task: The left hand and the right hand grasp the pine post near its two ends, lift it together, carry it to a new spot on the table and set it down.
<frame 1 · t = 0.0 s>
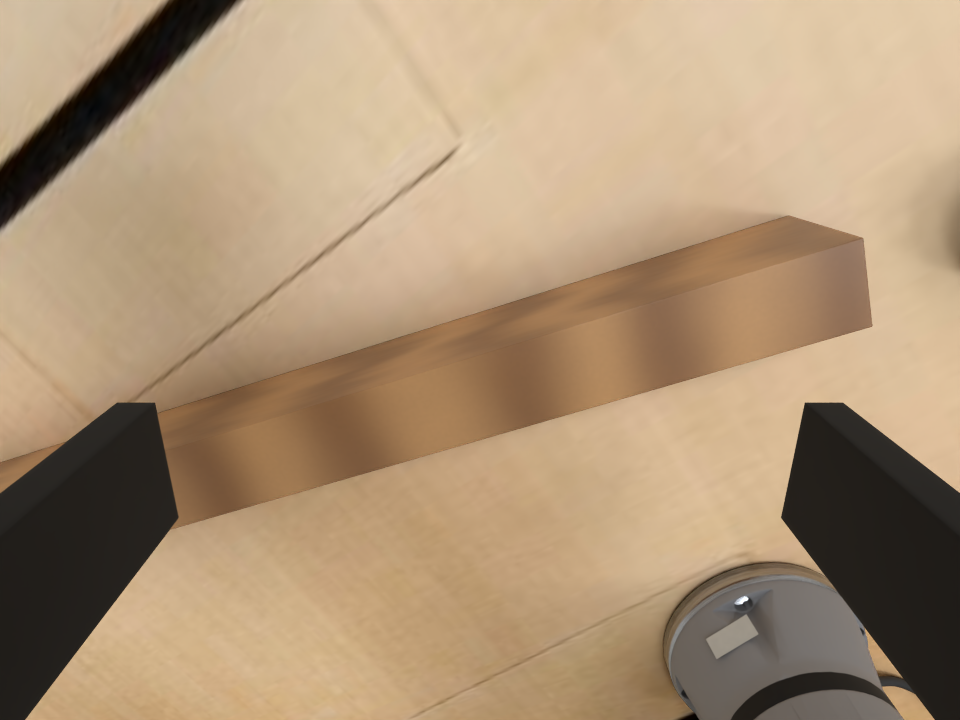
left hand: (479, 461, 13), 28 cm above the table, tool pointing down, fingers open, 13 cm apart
post: (373, 381, 43), on the table
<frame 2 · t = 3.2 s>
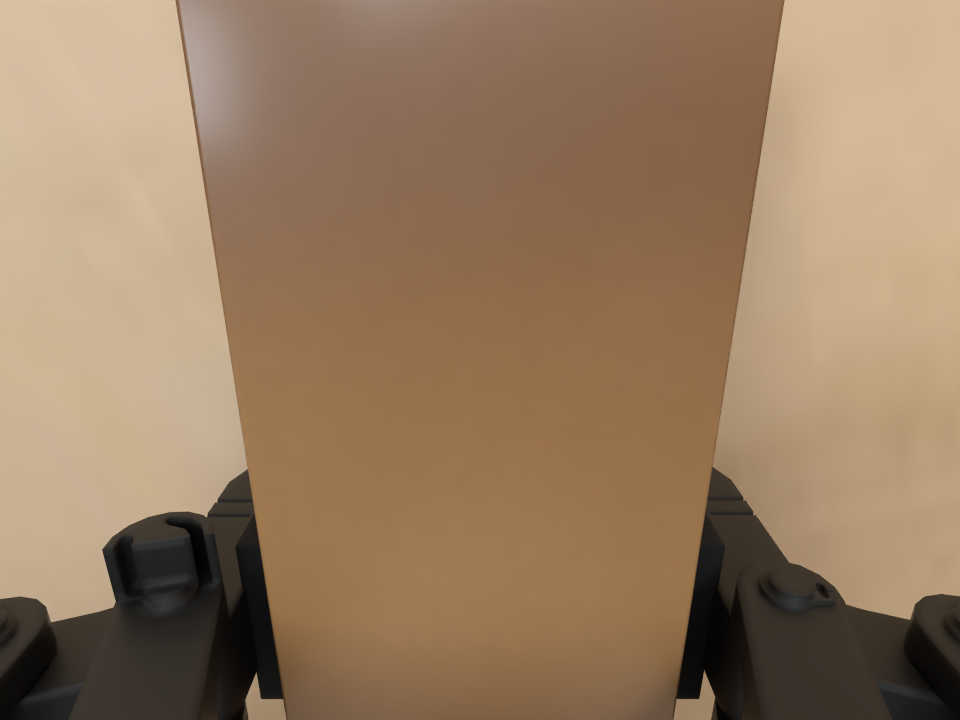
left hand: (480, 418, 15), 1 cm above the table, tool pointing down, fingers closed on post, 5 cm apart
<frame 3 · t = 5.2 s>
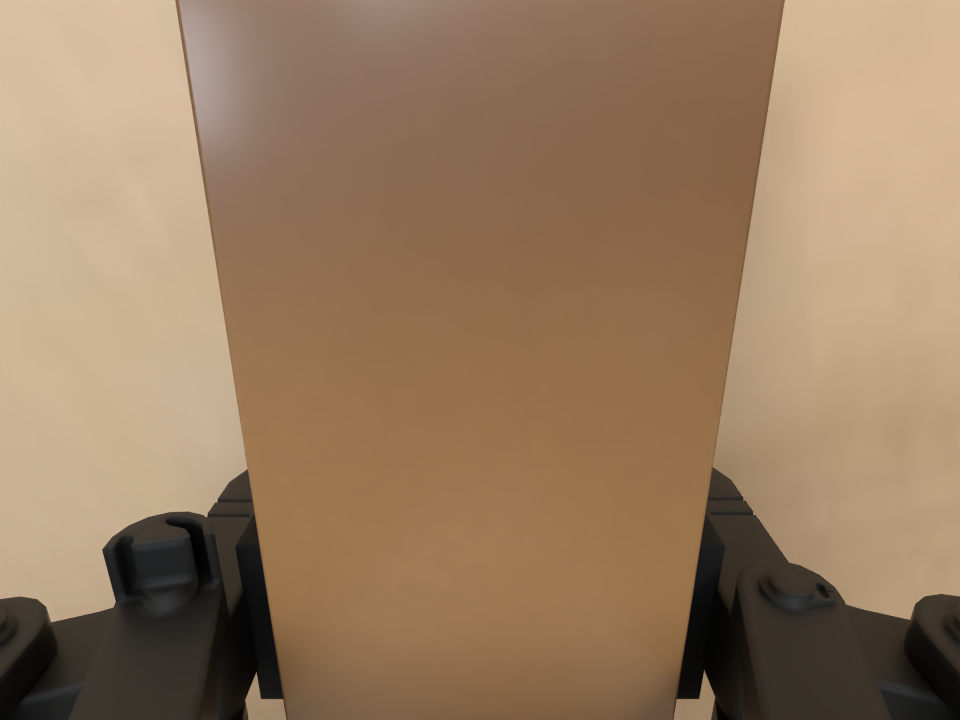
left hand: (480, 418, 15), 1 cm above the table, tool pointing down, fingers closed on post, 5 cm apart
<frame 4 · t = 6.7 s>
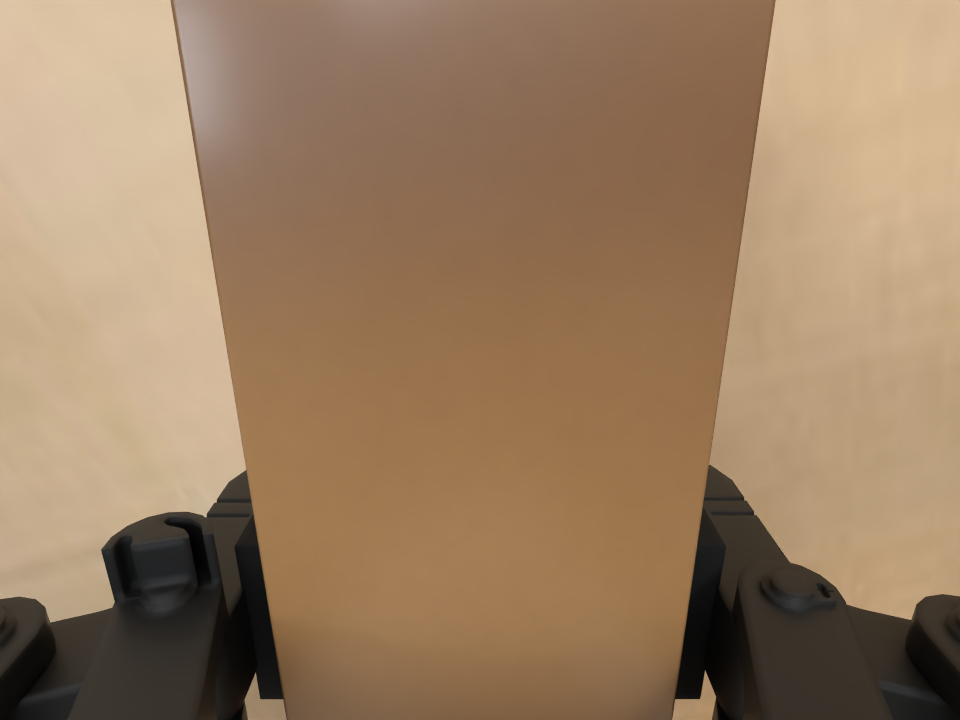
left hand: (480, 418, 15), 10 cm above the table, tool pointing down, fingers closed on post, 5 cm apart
when the left hand's fingers open (2 cm above the table, at t = 10.4 s): post drops 2 cm, on the table.
when the right hand's fingers open (2 cm above the table, at t = 10.5 s): post drops 2 cm, on the table.
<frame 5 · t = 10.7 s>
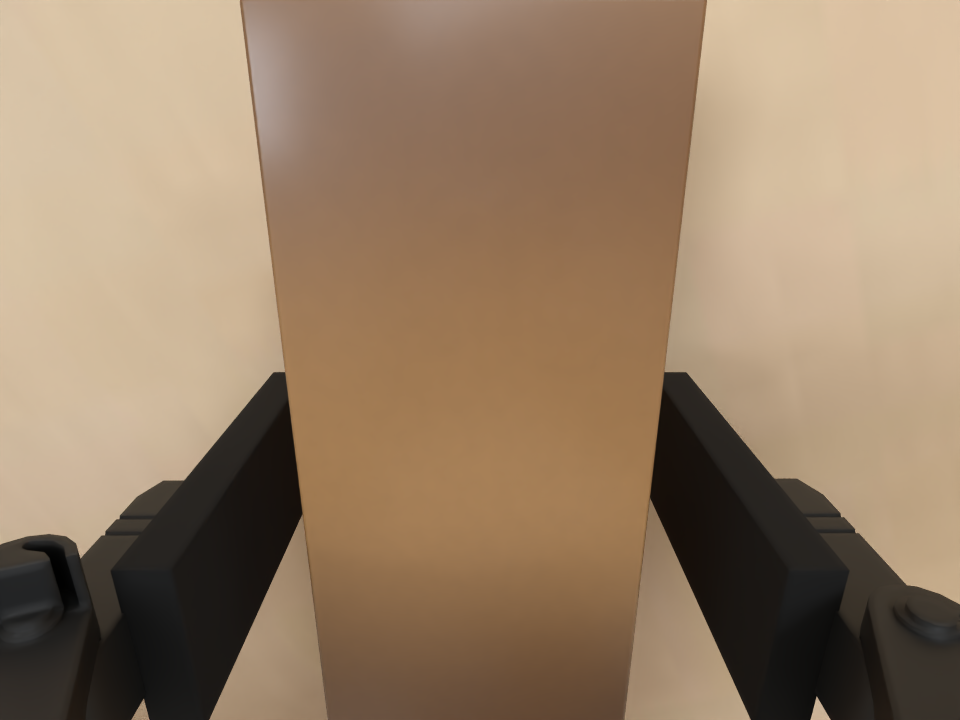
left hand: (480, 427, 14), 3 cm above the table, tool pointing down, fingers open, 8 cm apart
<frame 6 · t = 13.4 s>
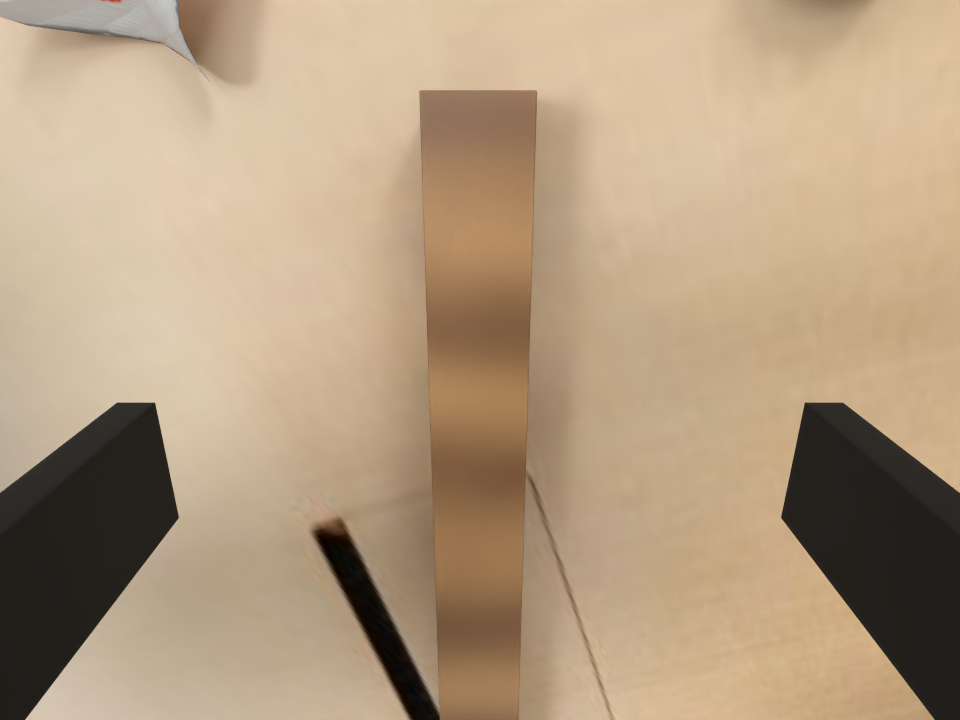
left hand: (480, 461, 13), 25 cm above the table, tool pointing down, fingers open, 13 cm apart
post: (479, 539, 44), on the table
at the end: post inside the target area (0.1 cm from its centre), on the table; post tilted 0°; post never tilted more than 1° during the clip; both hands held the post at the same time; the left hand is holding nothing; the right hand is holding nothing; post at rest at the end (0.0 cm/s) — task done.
